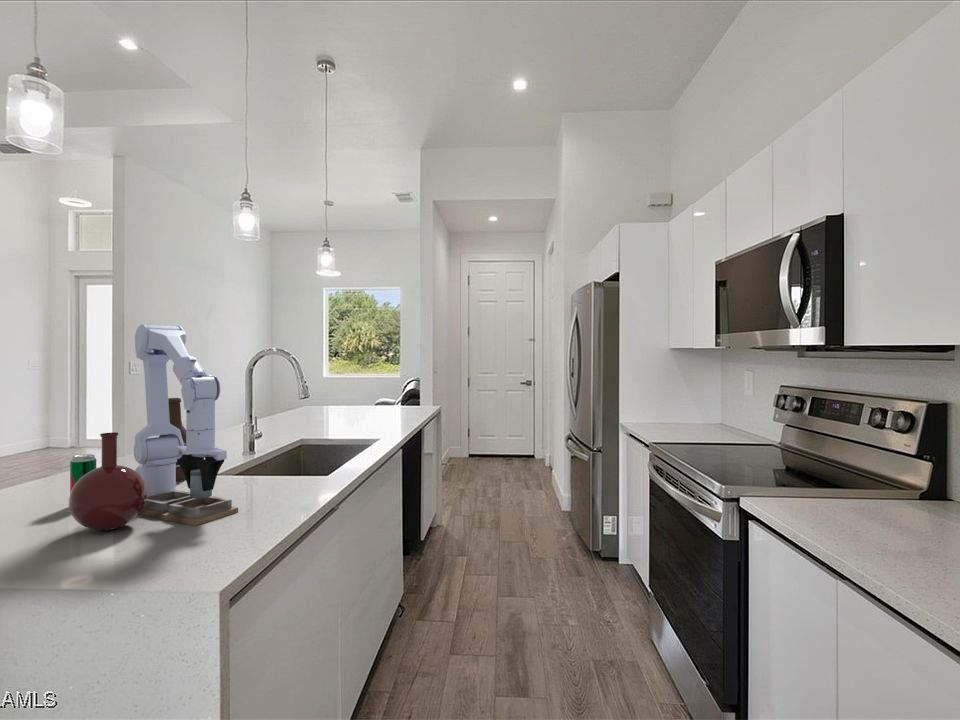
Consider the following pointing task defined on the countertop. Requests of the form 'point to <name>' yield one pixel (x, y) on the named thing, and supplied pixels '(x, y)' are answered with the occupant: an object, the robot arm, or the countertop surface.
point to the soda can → (81, 467)
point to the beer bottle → (177, 422)
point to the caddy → (186, 507)
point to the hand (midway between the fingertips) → (200, 488)
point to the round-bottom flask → (107, 492)
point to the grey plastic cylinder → (197, 485)
